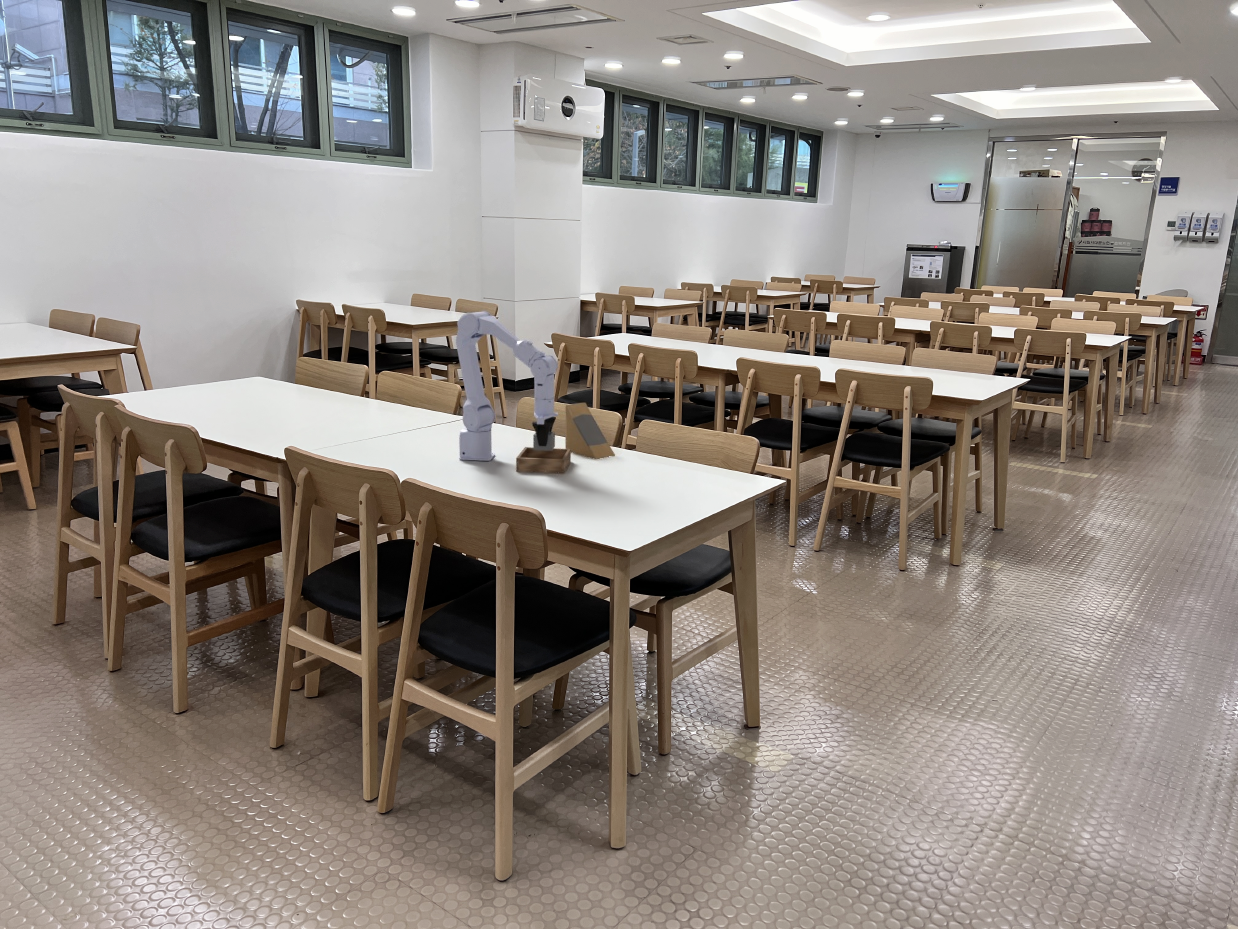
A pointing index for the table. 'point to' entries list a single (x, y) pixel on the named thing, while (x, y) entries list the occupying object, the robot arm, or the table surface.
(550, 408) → the robot arm
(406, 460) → the table surface
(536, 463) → the large crate
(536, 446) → the small crate
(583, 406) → the sandwich container
